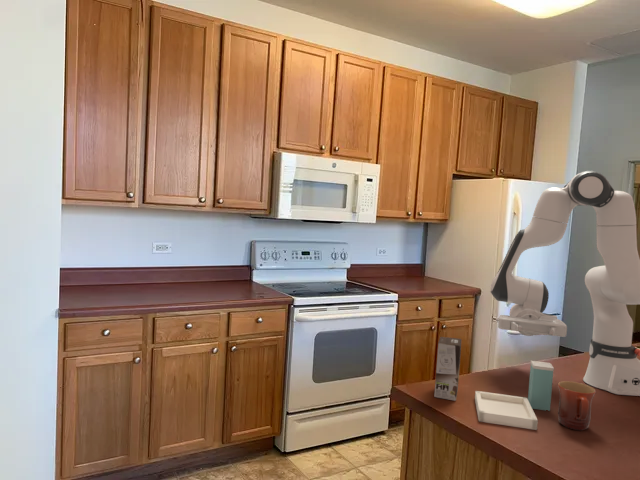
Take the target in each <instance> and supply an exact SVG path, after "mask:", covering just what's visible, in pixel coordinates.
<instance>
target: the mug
mask: <svg viewBox="0 0 640 480" xmlns="http://www.w3.org/2000/svg"><path fill="white" fill-rule="evenodd" d="M557 386H558V391H559V401H558V402H559V403H558V411H557V414H558V417H557V418H558V422H559V423H560V425H561V426H563V427H565V428H567V429H570V430H572V431H585V430H587V429H589V427H590V423H591V416H592V414H591V413H592V402H593V399H594V397H595V395H596V393H597V391H596V389H595V387H593V386H591V385H589V384H585V383H580V382H577V381H569V380H564V381H563V380H562V381H559V382H558V383H557Z"/></svg>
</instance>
